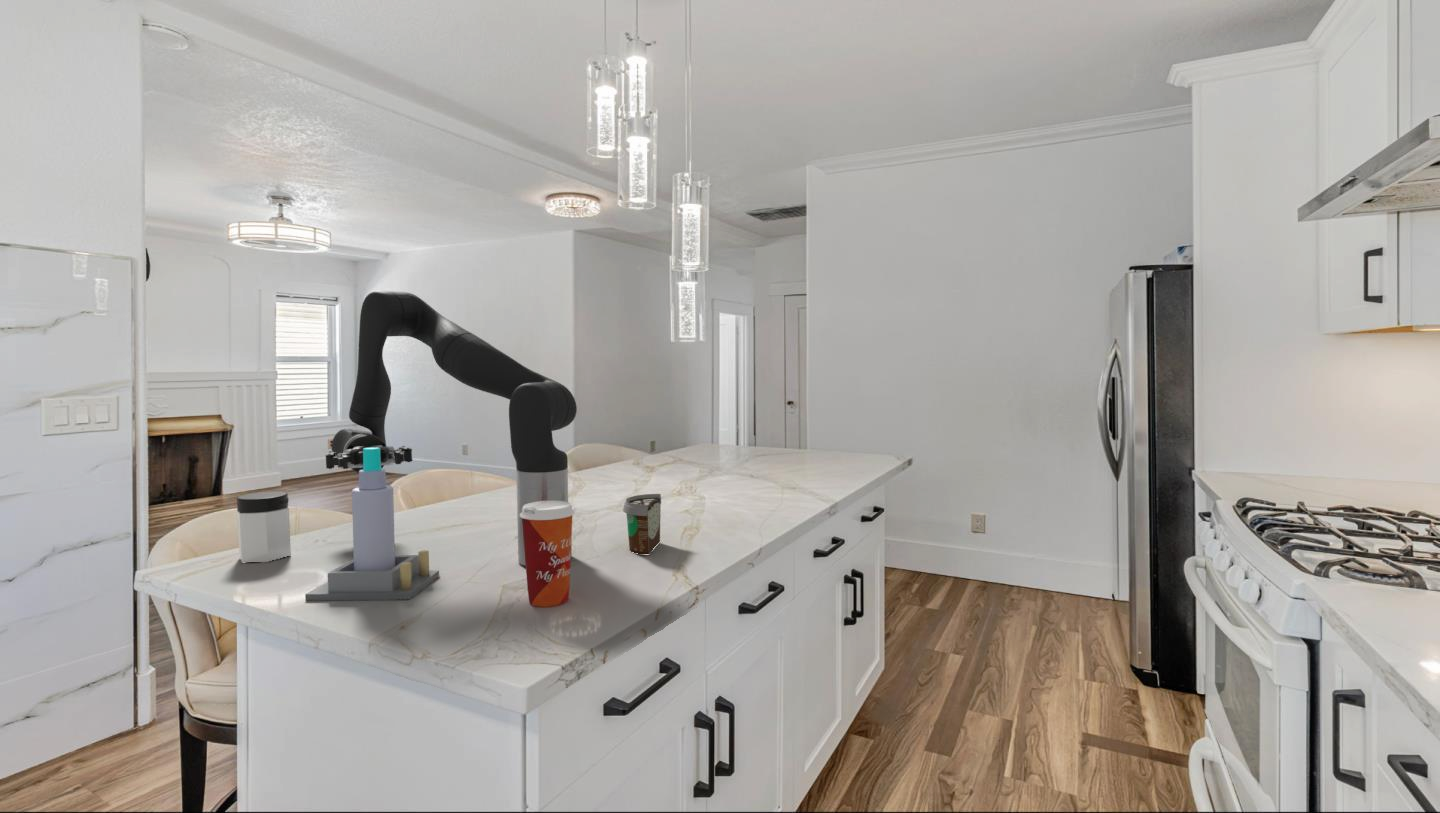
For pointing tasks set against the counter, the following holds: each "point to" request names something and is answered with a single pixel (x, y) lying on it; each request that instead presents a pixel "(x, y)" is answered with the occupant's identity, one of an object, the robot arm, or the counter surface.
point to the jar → (263, 526)
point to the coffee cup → (547, 551)
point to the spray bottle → (373, 517)
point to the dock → (377, 581)
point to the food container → (643, 522)
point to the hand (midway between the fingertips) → (372, 460)
